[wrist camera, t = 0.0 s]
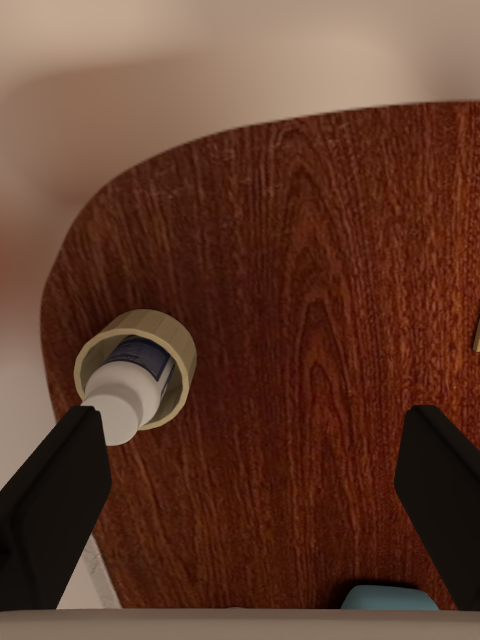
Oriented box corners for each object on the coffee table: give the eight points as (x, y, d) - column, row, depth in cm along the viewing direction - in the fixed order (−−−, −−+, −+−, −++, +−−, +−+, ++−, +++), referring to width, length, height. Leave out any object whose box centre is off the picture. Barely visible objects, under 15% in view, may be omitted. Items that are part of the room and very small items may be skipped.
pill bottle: (110, 335, 31) (52, 392, 21) (167, 324, 30) (134, 377, 21) (128, 387, 32) (82, 460, 23) (183, 377, 32) (158, 448, 23)
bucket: (92, 309, 30) (64, 328, 25) (194, 308, 30) (185, 328, 25) (106, 397, 33) (83, 430, 28) (198, 397, 33) (191, 430, 28)
